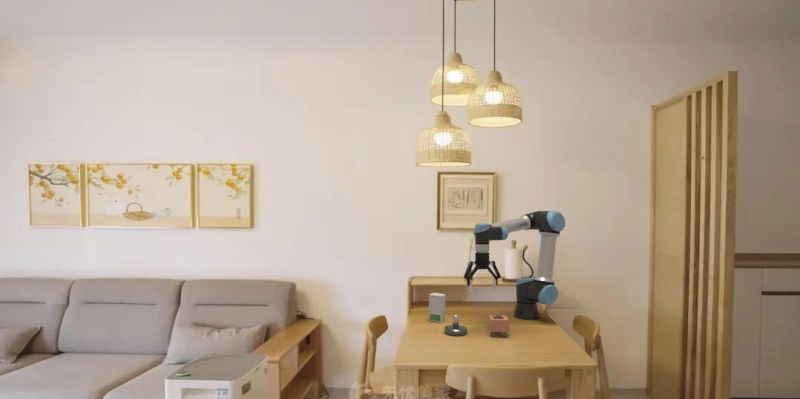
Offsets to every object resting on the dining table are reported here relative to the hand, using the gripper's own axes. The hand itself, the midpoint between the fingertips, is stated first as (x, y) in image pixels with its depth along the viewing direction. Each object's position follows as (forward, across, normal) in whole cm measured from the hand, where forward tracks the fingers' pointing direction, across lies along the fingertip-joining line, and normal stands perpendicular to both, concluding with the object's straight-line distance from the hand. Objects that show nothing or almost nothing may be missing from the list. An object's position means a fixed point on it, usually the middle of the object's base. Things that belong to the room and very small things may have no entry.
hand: (482, 291), depth 227 cm
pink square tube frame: (+18, -6, +9) cm, 21 cm away
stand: (+21, -6, +9) cm, 23 cm away
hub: (+21, +15, +2) cm, 26 cm away
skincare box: (+21, +19, -24) cm, 38 cm away
